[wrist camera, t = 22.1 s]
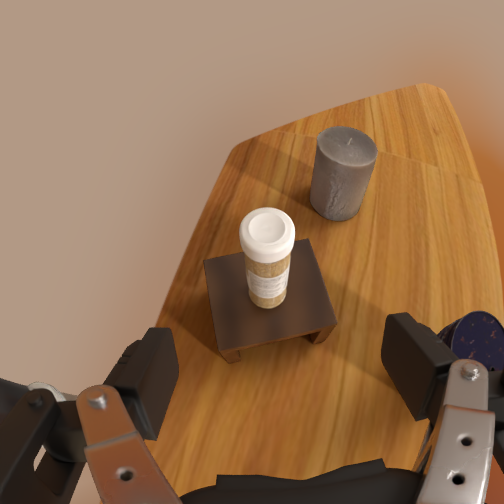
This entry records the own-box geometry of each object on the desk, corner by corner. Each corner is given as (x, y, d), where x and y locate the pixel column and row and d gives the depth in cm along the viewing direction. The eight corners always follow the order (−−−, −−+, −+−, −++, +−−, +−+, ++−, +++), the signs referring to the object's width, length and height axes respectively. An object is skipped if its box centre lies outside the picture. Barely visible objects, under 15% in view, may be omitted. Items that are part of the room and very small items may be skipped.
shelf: (228, 363, 40) (218, 351, 32) (214, 287, 46) (203, 259, 38) (324, 341, 41) (337, 323, 33) (302, 269, 47) (308, 238, 39)
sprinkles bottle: (258, 269, 37) (253, 198, 26) (292, 283, 36) (303, 216, 25) (241, 300, 35) (228, 239, 24) (277, 316, 34) (281, 260, 23)
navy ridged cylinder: (386, 363, 38) (436, 337, 26) (432, 331, 40) (486, 295, 27) (414, 417, 34) (473, 412, 21) (458, 381, 35) (519, 360, 22)
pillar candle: (361, 188, 55) (380, 127, 42) (357, 227, 50) (380, 166, 37) (313, 176, 57) (322, 114, 44) (303, 214, 52) (312, 149, 39)
